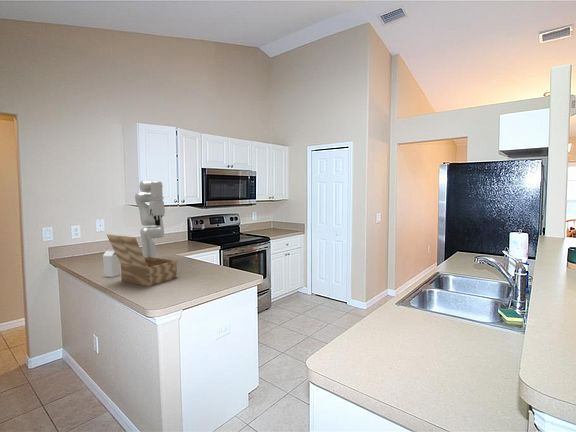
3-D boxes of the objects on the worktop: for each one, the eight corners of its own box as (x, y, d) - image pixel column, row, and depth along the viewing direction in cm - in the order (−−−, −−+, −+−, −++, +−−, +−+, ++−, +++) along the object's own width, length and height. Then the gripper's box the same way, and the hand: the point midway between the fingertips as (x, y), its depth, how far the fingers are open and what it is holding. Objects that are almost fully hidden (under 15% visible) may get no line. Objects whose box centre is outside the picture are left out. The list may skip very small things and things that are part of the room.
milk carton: (112, 277, 221) (111, 250, 219) (103, 276, 222) (102, 250, 221) (119, 274, 228) (118, 248, 226) (111, 274, 229) (110, 248, 228)
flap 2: (120, 235, 197) (120, 235, 196) (135, 237, 190) (134, 237, 190) (134, 264, 206) (133, 265, 205) (148, 267, 199) (147, 267, 199)
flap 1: (107, 234, 203) (106, 234, 203) (120, 235, 197) (119, 235, 196) (121, 262, 212) (120, 262, 212) (134, 264, 206) (133, 265, 206)
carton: (149, 272, 233) (149, 256, 232) (176, 277, 220) (176, 260, 218) (121, 280, 214) (120, 262, 213) (149, 286, 200) (148, 267, 199)
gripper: (162, 198, 228) (162, 223, 230) (143, 199, 215) (144, 226, 217) (169, 198, 224) (170, 224, 226) (151, 199, 211) (152, 226, 213)
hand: (157, 225), depth 221 cm, fingers closed
